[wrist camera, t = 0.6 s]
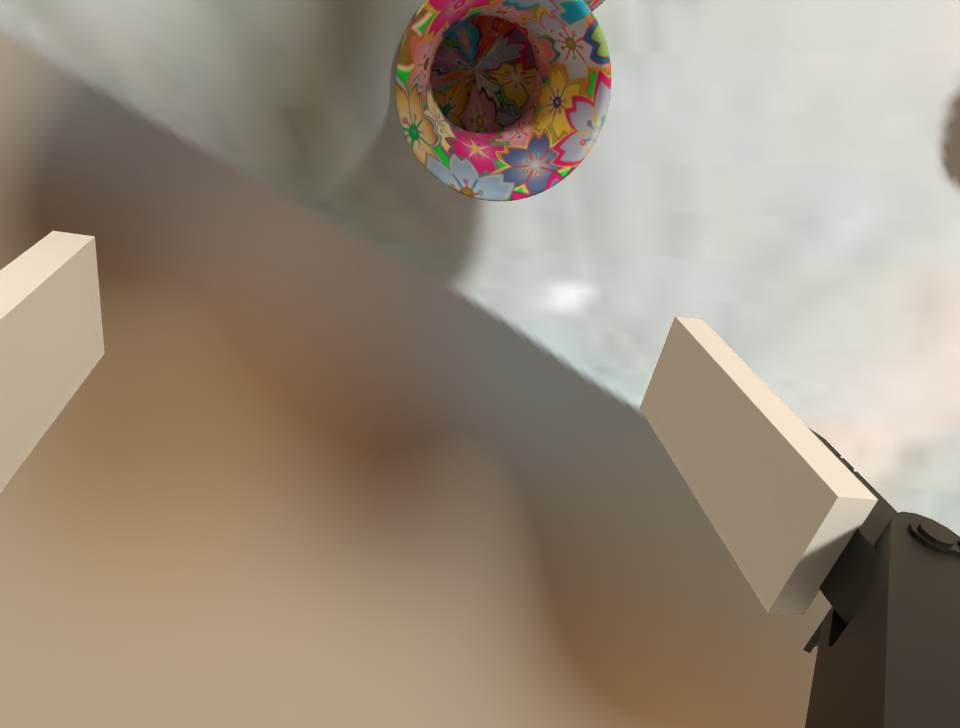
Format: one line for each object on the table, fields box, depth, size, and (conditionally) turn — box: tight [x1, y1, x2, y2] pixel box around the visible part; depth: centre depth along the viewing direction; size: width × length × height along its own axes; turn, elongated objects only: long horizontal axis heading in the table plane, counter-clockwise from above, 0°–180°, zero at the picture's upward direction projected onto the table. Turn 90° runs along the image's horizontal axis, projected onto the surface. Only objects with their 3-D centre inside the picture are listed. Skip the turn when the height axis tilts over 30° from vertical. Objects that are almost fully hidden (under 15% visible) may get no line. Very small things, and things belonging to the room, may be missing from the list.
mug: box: [396, 0, 611, 201], centre depth 32 cm, size 12×9×11 cm
